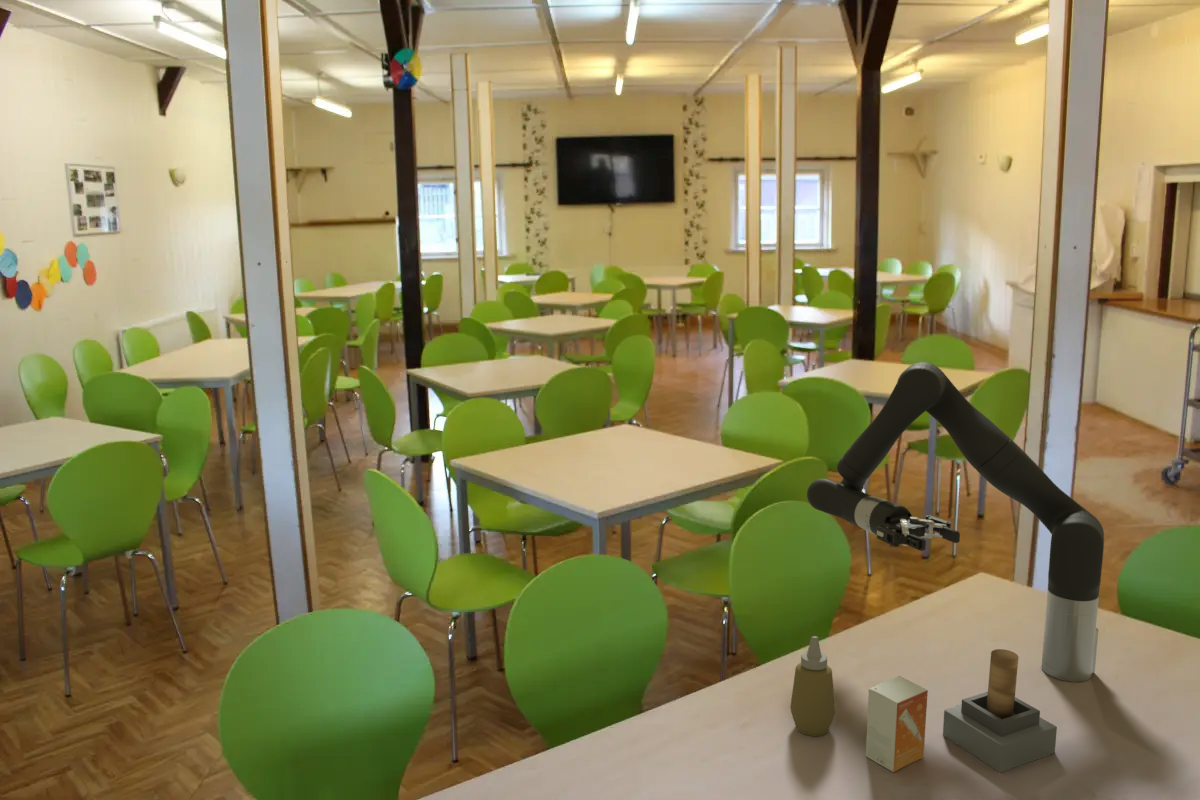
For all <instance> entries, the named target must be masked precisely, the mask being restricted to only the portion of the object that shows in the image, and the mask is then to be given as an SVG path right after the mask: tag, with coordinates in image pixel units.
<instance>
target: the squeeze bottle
mask: <svg viewBox="0 0 1200 800" xmlns="http://www.w3.org/2000/svg"><path fill="white" fill-rule="evenodd" d="M794 669H795V670H794V677H793V683H792V684H793V685H792V692H791V693H792V694H791V698H790V699H791V700H790V712H791V715H792V718H793V721H794V725H795V728H796V729H797V731H798V732H800V733H802V734H803V735H805V736H811V737H818V736H819V737H820V736H823V735H826V734H827V733H828V731H829V730H830V727H831V726H832V725H831V724H832V723H833V720H834V717H835V716H836V706H835V694H834V693H835V691H834V679H833V669H832V668H831V667H830V666H829V665H828V656H827V654H825V653H824V652H822V651H821V647H820V641H819V637H818V636H816V635H815V636H811V638H810V641H809V645H808V649H807V651H803V652H802V653H801V655H800V663H798V664H797V665H796V666H795V668H794Z"/></svg>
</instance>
